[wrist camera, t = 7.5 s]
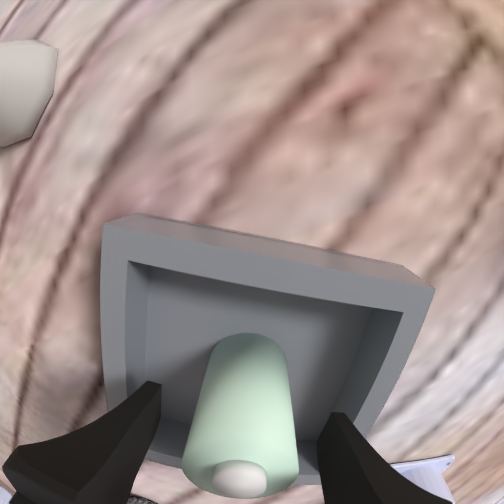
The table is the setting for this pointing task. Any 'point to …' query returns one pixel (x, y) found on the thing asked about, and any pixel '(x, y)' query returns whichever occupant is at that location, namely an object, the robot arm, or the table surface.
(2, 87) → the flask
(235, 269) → the bin
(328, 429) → the robot arm
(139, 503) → the koala plush
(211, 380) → the cylinder
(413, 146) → the table surface
